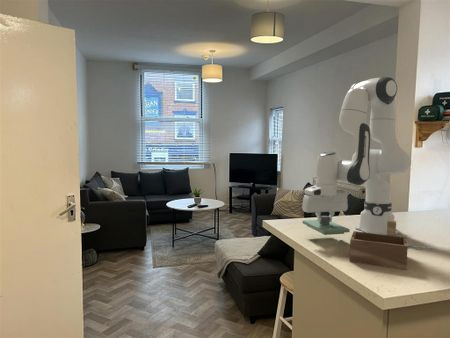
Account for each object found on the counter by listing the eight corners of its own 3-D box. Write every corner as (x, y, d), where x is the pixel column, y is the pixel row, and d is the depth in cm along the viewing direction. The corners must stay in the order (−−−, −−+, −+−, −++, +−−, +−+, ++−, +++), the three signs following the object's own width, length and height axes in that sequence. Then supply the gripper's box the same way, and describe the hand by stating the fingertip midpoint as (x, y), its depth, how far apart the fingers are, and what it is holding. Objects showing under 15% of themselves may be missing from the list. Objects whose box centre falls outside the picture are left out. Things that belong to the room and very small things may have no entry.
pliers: (435, 252, 136) (392, 245, 144) (434, 256, 136) (392, 249, 144) (437, 246, 144) (396, 239, 152) (436, 250, 144) (396, 243, 152)
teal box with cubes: (326, 224, 164) (326, 211, 163) (349, 234, 146) (350, 220, 146) (302, 225, 161) (302, 212, 160) (323, 236, 143) (323, 222, 143)
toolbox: (352, 253, 137) (353, 231, 136) (404, 261, 129) (406, 237, 129) (349, 264, 126) (350, 239, 125) (406, 272, 119) (407, 246, 118)
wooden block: (385, 252, 139) (387, 220, 138) (394, 253, 138) (396, 220, 136) (385, 255, 136) (387, 221, 135) (394, 256, 135) (396, 222, 134)
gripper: (343, 188, 158) (341, 219, 159) (301, 189, 153) (299, 221, 154) (351, 190, 152) (350, 222, 153) (308, 191, 147) (306, 224, 148)
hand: (324, 221), depth 154 cm, fingers closed on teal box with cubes, 3 cm apart
